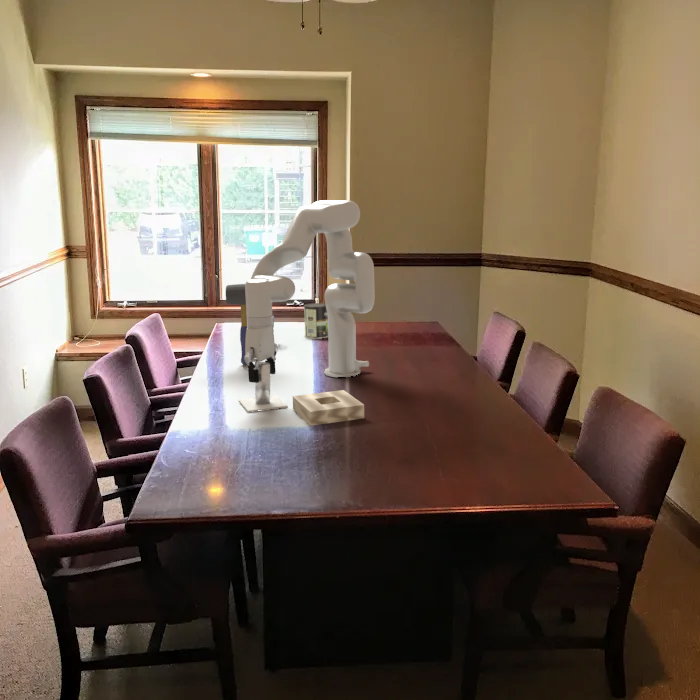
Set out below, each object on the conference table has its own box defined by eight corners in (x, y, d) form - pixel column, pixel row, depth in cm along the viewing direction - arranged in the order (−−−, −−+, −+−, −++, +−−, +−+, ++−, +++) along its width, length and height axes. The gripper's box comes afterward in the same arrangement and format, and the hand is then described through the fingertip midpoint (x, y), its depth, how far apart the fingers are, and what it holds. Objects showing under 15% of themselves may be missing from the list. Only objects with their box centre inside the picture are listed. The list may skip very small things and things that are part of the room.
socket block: (343, 402, 213) (343, 390, 212) (364, 418, 199) (364, 404, 198) (292, 409, 207) (292, 396, 207) (310, 425, 193) (310, 411, 192)
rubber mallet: (264, 362, 263) (261, 282, 256) (263, 367, 256) (259, 285, 249) (230, 363, 262) (226, 282, 256) (228, 368, 255) (224, 285, 248)
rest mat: (276, 396, 220) (276, 395, 220) (287, 407, 209) (287, 405, 209) (238, 401, 215) (238, 399, 215) (247, 412, 205) (247, 410, 204)
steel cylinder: (260, 399, 215) (260, 361, 212) (272, 401, 213) (272, 363, 210) (252, 403, 211) (252, 364, 208) (265, 405, 209) (265, 366, 206)
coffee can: (328, 334, 312) (328, 302, 309) (327, 339, 302) (327, 306, 299) (305, 334, 312) (304, 303, 309) (303, 339, 302) (303, 306, 299)
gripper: (263, 315, 216) (265, 369, 220) (232, 326, 200) (236, 384, 204) (285, 317, 213) (287, 371, 217) (255, 328, 197) (258, 386, 201)
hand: (262, 377), depth 211 cm, fingers open, 9 cm apart
